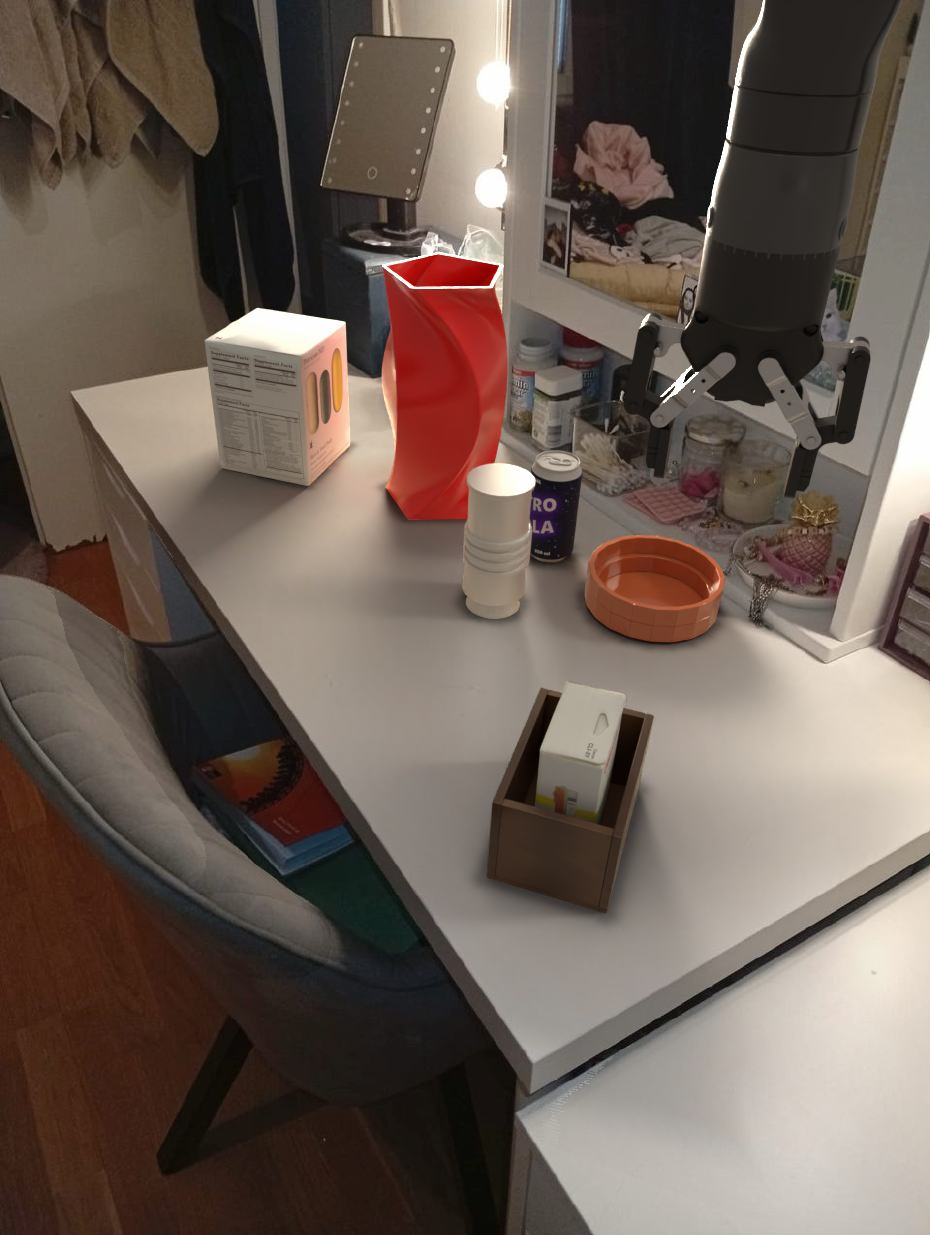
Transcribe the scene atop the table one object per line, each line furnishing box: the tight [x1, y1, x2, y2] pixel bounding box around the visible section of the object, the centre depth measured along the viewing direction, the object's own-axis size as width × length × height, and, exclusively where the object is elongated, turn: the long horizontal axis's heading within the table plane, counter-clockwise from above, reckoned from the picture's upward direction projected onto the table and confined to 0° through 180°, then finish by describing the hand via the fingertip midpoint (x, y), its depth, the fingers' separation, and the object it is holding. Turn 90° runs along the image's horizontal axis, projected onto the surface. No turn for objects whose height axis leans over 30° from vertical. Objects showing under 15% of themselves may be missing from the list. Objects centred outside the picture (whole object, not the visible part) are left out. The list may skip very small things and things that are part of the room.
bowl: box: [583, 534, 726, 643], centre depth 100 cm, size 14×14×4 cm
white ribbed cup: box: [461, 462, 535, 620], centre depth 96 cm, size 7×7×15 cm
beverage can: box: [529, 449, 584, 563], centre depth 105 cm, size 6×6×12 cm
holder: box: [486, 687, 655, 914], centre depth 73 cm, size 9×13×8 cm
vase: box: [381, 252, 509, 521], centre depth 111 cm, size 15×14×28 cm
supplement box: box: [204, 307, 351, 487], centre depth 121 cm, size 13×13×18 cm
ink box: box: [535, 680, 627, 825], centre depth 72 cm, size 9×5×12 cm, turn 162°
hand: (723, 482), depth 63 cm, fingers open, 8 cm apart
